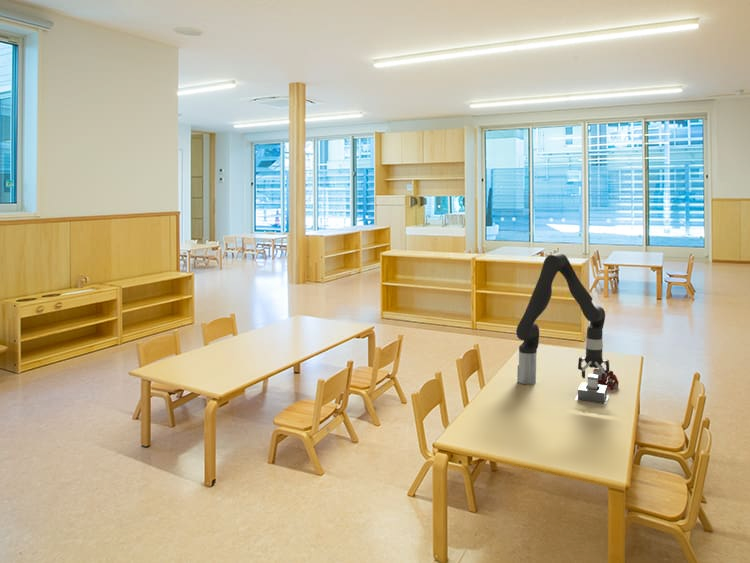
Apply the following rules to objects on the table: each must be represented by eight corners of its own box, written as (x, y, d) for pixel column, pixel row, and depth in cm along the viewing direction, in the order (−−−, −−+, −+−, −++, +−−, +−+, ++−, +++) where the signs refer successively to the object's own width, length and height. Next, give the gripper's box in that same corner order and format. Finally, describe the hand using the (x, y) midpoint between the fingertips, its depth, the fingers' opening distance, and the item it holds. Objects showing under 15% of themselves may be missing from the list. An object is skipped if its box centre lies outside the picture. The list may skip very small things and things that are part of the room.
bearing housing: (575, 402, 275) (575, 389, 274) (579, 393, 287) (579, 381, 286) (605, 407, 268) (606, 394, 267) (608, 397, 281) (609, 385, 280)
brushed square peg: (586, 397, 277) (587, 376, 275) (588, 395, 280) (589, 373, 279) (596, 399, 275) (597, 377, 273) (597, 396, 278) (598, 375, 277)
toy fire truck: (616, 393, 286) (617, 374, 284) (591, 389, 293) (591, 370, 291) (619, 389, 292) (620, 370, 290) (594, 385, 299) (595, 366, 297)
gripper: (577, 347, 274) (576, 379, 276) (609, 350, 267) (607, 383, 269) (580, 343, 280) (579, 375, 282) (610, 346, 273) (609, 378, 276)
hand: (593, 379), depth 276 cm, fingers open, 8 cm apart
